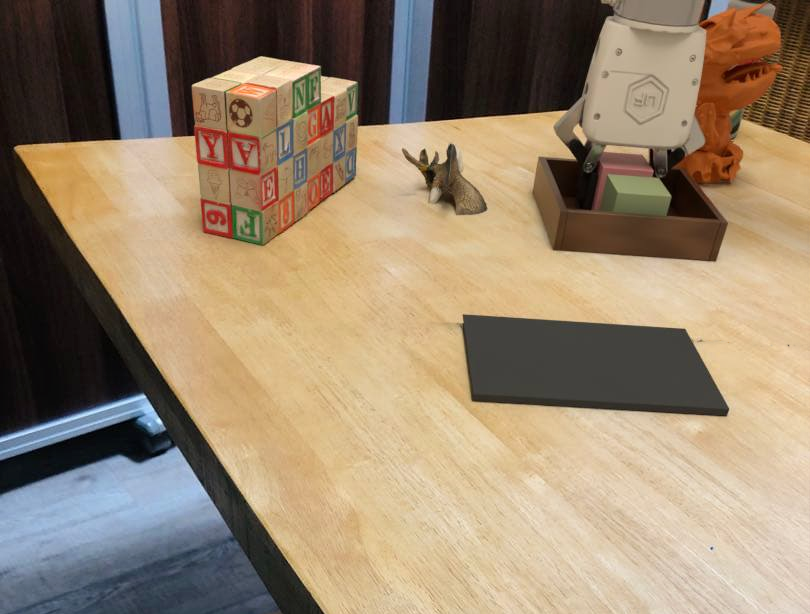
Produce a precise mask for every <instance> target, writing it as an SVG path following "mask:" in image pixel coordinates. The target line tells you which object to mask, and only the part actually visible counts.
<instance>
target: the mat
mask: <svg viewBox="0 0 810 614" xmlns="http://www.w3.org/2000/svg"><path fill="white" fill-rule="evenodd" d="M461 326H462V327H461V328H462V334H463V341H464V349H465V356H466V365H467V371H468V378H469V379H468V380H469V386H470V393H471V401H474V402H488V403H491V402H492V403H506V404H521V405H523V404H524V405H541V406H556V407H557V406H558V407H573V408H589V409H605V410H621V411H623V410H625V411H639V412H640V411H641V412H656V413H671V414H672V413H675V414H691V415H706V416H708V415H709V416H725V417H727V416H728V415H729V411H730V407H729V405H728V404H727V402H726V400H725V398H724V396H723V394H722V393H721V391H720V388H719V387H718V385H717V383H716V382H715V380H714V378H713V376H712V374H711V373H710V371H709V369H708V367H707V366H706V363H705V362H704V360H703V358H702V356H701V355H700V353H699V350H697V348H696V346H695V344H694V341H693V340H692V338H691V337H690V334H689V333H688V331H687V329H686V328H679V327H665V326H651V325H636V324H635V325H633V324H621V323H620V324H617V323H605V322H604V323H603V322H589V321H575V320H574V321H573V320H559V319H558V320H557V319H543V318H542V319H541V318H526V317H514V316H513V317H512V316H511V317H510V316H497V315H495V316H494V315H483V314H482V315H481V314H467V313H463V314H462V322H461Z"/></svg>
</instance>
